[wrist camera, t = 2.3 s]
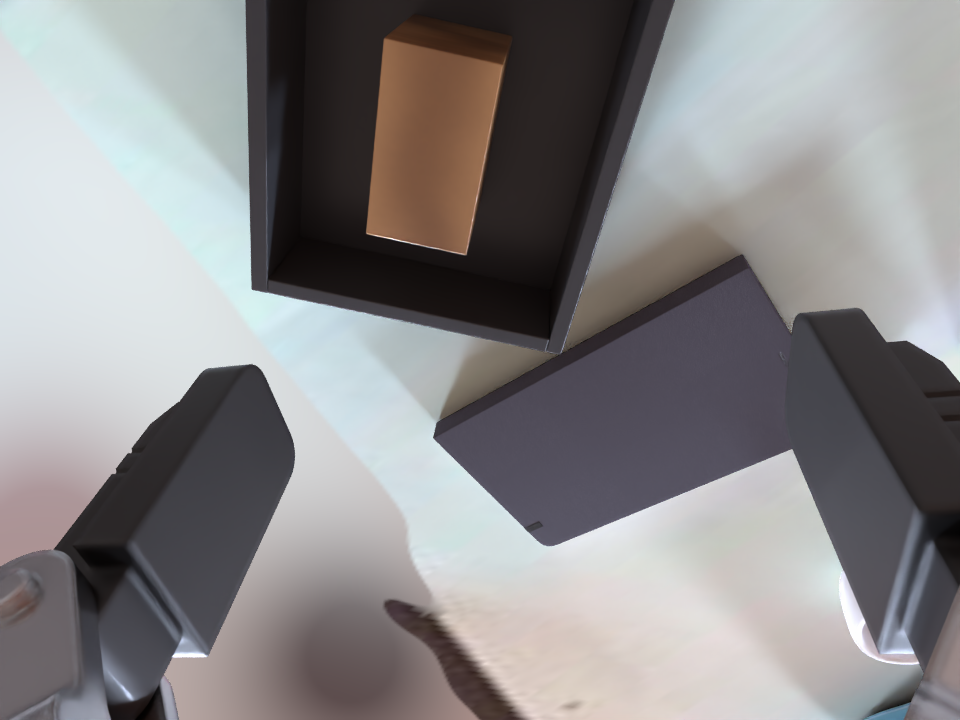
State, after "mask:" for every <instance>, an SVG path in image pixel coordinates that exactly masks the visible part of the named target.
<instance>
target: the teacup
mask: <svg viewBox="0 0 960 720" xmlns="http://www.w3.org/2000/svg"><path fill="white" fill-rule="evenodd" d="M839 594H840V600H841V605H842V608H843V612H844V615H845V619H846V622H847V625H848V628H849V631H850V633H851V635H852V637H853V639H854V641H855V642H856V644H857V645H858V647H859V648H860V649H861V650H862V651H863V652H864V653H865V654H867V655H868V656H870V657H872V658H874V659H877V660H879V661H883V662H887V663H893V664H919V662H918V660H917V657H916V655H915V654H879V653H878V651H877V648H876V646H875V644H874V641H873V639H872V636H871V634H870V632H869V629H868V627H867V625H866V622H865V620H864V617H863V615H862V613H861V610H860V608H859V606H858V603H857V601H856V598H855V596H854V594H853V591H852V589H851V587H850V584H849V582H848V579H847V577H846V575H845V572H844V570H843V571H842V573H841V576H840V583H839Z"/></svg>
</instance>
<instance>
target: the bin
mask: <svg viewBox="0 0 960 720" xmlns="http://www.w3.org/2000/svg"><path fill="white" fill-rule="evenodd" d="M674 1H675V0H246V43H247V91H248V138H249V186H250V233H251V280H252V290H255V291H260V292H265V293H271V294H275V295H280V296H285V297H289V298H294V299H299V300H304V301H308V302H313V303H318V304H322V305H327V306H332V307H336V308H341V309H346V310H351V311H355V312H360V313H365V314H369V315H374V316H379V317H384V318H388V319H393V320H398V321H402V322H407V323H412V324H417V325H421V326H426V327H431V328H435V329H440V330H445V331H449V332H454V333H459V334H464V335H468V336H473V337H478V338H482V339H487V340H492V341H497V342H501V343H506V344H511V345H515V346H520V347H525V348H530V349H534V350H539V351H544V352H545V351H547V352H549V353H554V354H559V355H561V354H562V351H563V348H564V345H565V342H566V339H567V335H568V332H569V329H570V326H571V323H572V320H573V317H574V314H575V311H576V307H577V304H578V301H579V298H580V295H581V292H582V289H583V286H584V282H585V279H586V276H587V273H588V270H589V267H590V264H591V261H592V257H593V254H594V251H595V248H596V245H597V242H598V239H599V236H600V232H601V229H602V226H603V223H604V220H605V217H606V214H607V211H608V207H609V204H610V201H611V198H612V195H613V192H614V189H615V186H616V182H617V179H618V176H619V173H620V170H621V167H622V164H623V161H624V157H625V154H626V151H627V148H628V145H629V142H630V139H631V136H632V133H633V129H634V126H635V123H636V120H637V117H638V114H639V111H640V108H641V104H642V101H643V98H644V95H645V92H646V89H647V86H648V83H649V79H650V76H651V73H652V70H653V67H654V64H655V61H656V58H657V54H658V51H659V48H660V45H661V42H662V39H663V36H664V33H665V29H666V26H667V23H668V20H669V17H670V14H671V11H672V8H673V4H674ZM413 14H417V15H421V16H426V17H430V18H434V19H439V20H443V21H448V22H452V23H457V24H461V25H465V26H470V27H474V28H479V29H483V30H488V31H492V32H497V33H501V34H505V35H510V36H512V43H511V48H510V53H509V58H508V63H507V68H506V73H505V78H504V83H503V88H502V93H501V98H500V104H499V109H498V114H497V119H496V124H495V129H494V134H493V139H492V144H491V149H490V154H489V159H488V164H487V170H486V175H485V180H484V185H483V190H482V195H481V200H480V205H479V208H478V212H477V216H476V220H475V224H474V228H473V231H472V235H471V239H470V243H469V247H468V251H467V254H466V255H462V254H458V253H453V252H448V251H444V250H439V249H435V248H430V247H425V246H421V245H416V244H411V243H407V242H402V241H397V240H393V239H388V238H384V237H379V236H374V235H370V234H366V228H367V217H368V206H369V195H370V184H371V173H372V163H373V152H374V141H375V130H376V119H377V108H378V97H379V86H380V75H381V64H382V53H383V42H384V38H385V37H386V36H387V35H388V34H390V33H391V32H392V31H393V30H395V29H396V28H397V27H398V26H400V25H401V24H402V23H403V22H404V21H406V20H407V19H408V18H409V17H411V16H412V15H413Z"/></svg>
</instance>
